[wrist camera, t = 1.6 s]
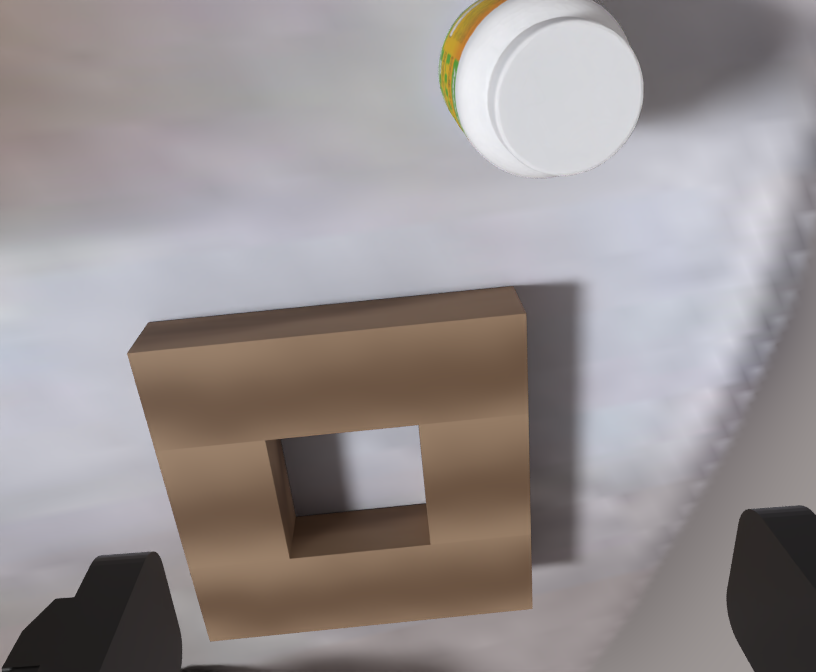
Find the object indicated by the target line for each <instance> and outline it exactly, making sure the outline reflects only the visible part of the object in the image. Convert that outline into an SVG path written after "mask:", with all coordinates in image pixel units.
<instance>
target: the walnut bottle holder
mask: <svg viewBox="0 0 816 672" xmlns="http://www.w3.org/2000/svg"><path fill="white" fill-rule="evenodd" d="M127 355H128V358H129V362H130V365H131V369H132V372H133V376H134V379H135V383H136V386H137V390H138V393H139V396H140V400H141V403H142V407H143V410H144V414H145V417H146V421H147V424H148V428H149V431H150V435H151V438H152V442H153V445H154V449H155V452H156V455H157V459H158V462H159V466H160V469H161V473H162V476H163V480H164V483H165V487H166V490H167V494H168V497H169V501H170V504H171V508H172V511H173V515H174V518H175V521H176V525H177V528H178V532H179V535H180V539H181V542H182V546H183V549H184V553H185V556H186V560H187V563H188V567H189V570H190V574H191V577H192V580H193V584H194V587H195V591H196V594H197V598H198V601H199V605H200V608H201V612H202V615H203V619H204V622H205V626H206V629H207V633H208V636H209V639H210V641H220V640H230V639H240V638H249V637H259V636H269V635H279V634H289V633H299V632H309V631H319V630H328V629H338V628H348V627H358V626H368V625H378V624H388V623H398V622H407V621H417V620H427V619H437V618H447V617H457V616H467V615H477V614H486V613H496V612H506V611H516V610H526V609H532V563H531V514H530V465H529V415H528V366H527V317H526V312H525V309H524V307H523V305H522V303H521V301H520V299H519V297H518V295H517V293H516V291H515V289H514V287H513V286H509V287H499V288H489V289H479V290H469V291H459V292H449V293H439V294H429V295H419V296H409V297H399V298H389V299H379V300H369V301H359V302H349V303H339V304H329V305H319V306H309V307H299V308H289V309H279V310H269V311H259V312H249V313H239V314H229V315H219V316H209V317H199V318H189V319H179V320H169V321H159V322H149V323H148V324H147V325H146V327H145V328H144V330H143V331H142V332H141V334H140V335H139V337H138V338H137V340H136V341H135V343H134V344H133V346H132V347H131V349H130V350H129V351H128V353H127ZM413 425H419V435H420V445H421V455H422V465H423V476H424V486H425V496H426V504H419V505H409V506H399V507H389V508H379V509H369V510H359V511H349V512H339V513H329V514H320V515H310V516H300V517H296V515H295V510H294V505H293V500H292V495H291V490H290V485H289V480H288V475H287V469H286V464H285V459H284V454H283V449H282V444H281V439H284V438H294V437H303V436H313V435H323V434H333V433H343V432H353V431H363V430H373V429H383V428H393V427H403V426H413Z"/></svg>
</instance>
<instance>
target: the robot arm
mask: <svg viewBox="0 0 816 672" xmlns="http://www.w3.org/2000/svg"><path fill="white" fill-rule="evenodd" d="M727 610H728V616H729V620H730V624H731V627H732V630H733V633H734V635H735V637H736V639H737V641H738V643H739V645H740V647H741V649H742V650H743V652H744V654H745V656H746V658H747V659H748V661H749V663H750V664H751V666H752V668H753V670H754V672H816V515H815V514H814V513H813V512H812V511H811V510H810V509H809V508H807V507H805V506H800V505H798V506H785V507H773V508H760V509H748V510H745V511H744V512H743V513H742V515H741V517H740V519H739V524H738V530H737V535H736V541H735V547H734V553H733V559H732V564H731V571H730V576H729V582H728V587H727ZM181 664H182V639H181V632H180V628H179V624H178V620H177V617H176V613H175V609H174V605H173V601H172V598H171V594H170V590H169V586H168V582H167V579H166V575H165V571H164V567H163V564H162V561H161V558H160V556H159V555H158V553H156V552H141V553H127V554H114V555H101V556H98V557H97V558H95V559H94V561H93V562H92V564H91V565H90V567H89V569H88V571H87V573H86V575H85V577H84V579H83V581H82V583H81V585H80V587H79V589H78V591H77V593H76V595H75V597H72V598H59V599H55V600H54V601H53V602H52V603H51V604H50V605H49V606H48V607H47V608H46V609H45V610H44V611H42V612H41V613H40V614H39V615H38V616H37V617H36V618H35V619H34V620H33V621H32V622H31V623H30V624H29V625H28V626H27V627H26V628H25V629H24V630H23V631H22V633H21V634H20V636H19V638H18V640H17V642H16V643H15V645H14V647H13V649H12V651H11V652H10V654H9V656H8V658H7V660H6V661H5V663H4V665H3V667H2V672H181Z"/></svg>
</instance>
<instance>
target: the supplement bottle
mask: <svg viewBox="0 0 816 672" xmlns="http://www.w3.org/2000/svg"><path fill="white" fill-rule="evenodd" d="M438 75H439V84H440V89H441V92H442V96H443V98H444V101H445V103H446V105H447V107H448V109H449V111H450V113H451V114H452V116H453V117H454V119H455V120H456V122H457V123H458V125H459V127H460V128H461V130H462V131H463V132H464V134H465V135H466V137H467V138H468V140H469V141H470V142H471V144H472V145H473V146H474V148H475V149H476V150H477V151H478V152H479V153H480V154H481V155H482V156H483V157H484V158H485V159H486V160H487V161H489V162H490V163H491V164H493V165H494V166H496V167H497V168H499V169H501V170H503V171H505V172H508V173H511V174H513V175H516V176H520V177H525V178H537V179H540V178H551V177H557V176H567V175H575V174H579V173H582V172H586V171H589V170H591V169H593V168H596V167H597V166H599V165H601V164H602V163H604V162H605V161H607V160H608V159H609V158H611V157H612V156H613V155H614V154H616V153H617V152H618V150H619V149H620V148H621V147H622V146H623V145H624V144H625V142H626V141H627V140H628V138H629V137H630V135H631V133H632V132H633V130H634V128H635V126H636V124H637V121H638V119H639V116H640V113H641V109H642V104H643V97H644V84H643V76H642V71H641V67H640V64H639V61H638V59H637V57H636V55H635V53H634V51H633V50H632V48H631V47H630V45H629V42H628V39H627V37H626V35H625V33H624V31H623V30H622V28H621V27H620V25H619V24H618V22H617V21H616V20H615V19H614V17H613V16H612V15H611V14H610V13H609V12H608V11H607V10H606V9H604V8H603V7H602V6H601V5H599V4H598V3H596V2H595V1H593V0H478V1H476V2H474V3H473V4H472V5H470V6H469V7H468V8H467V9H465V10H464V11H463V12H462V13H461V14H460V15H459V17H458V18H457V19H456V20H455V22H454V23H453V25H452V26H451V28H450V29H449V31H448V33H447V35H446V37H445V39H444V42H443V45H442V48H441V52H440V57H439V65H438Z"/></svg>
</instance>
